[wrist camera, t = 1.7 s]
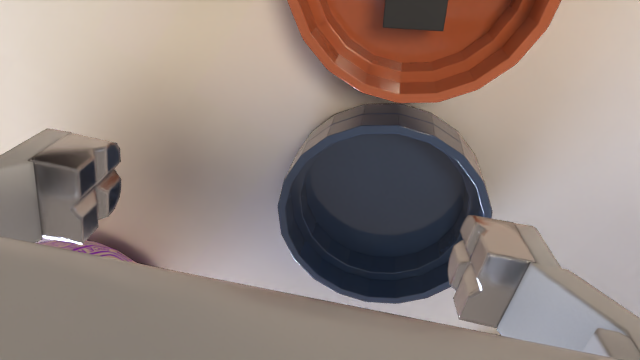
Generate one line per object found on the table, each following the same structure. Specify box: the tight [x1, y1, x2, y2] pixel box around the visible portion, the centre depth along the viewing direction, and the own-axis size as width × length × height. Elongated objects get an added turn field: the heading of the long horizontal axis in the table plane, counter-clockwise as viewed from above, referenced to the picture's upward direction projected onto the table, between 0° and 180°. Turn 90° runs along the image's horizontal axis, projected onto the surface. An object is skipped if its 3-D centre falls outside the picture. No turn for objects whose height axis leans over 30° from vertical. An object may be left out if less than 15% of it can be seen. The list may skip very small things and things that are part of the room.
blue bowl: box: [278, 104, 492, 304], centre depth 35 cm, size 15×15×5 cm
